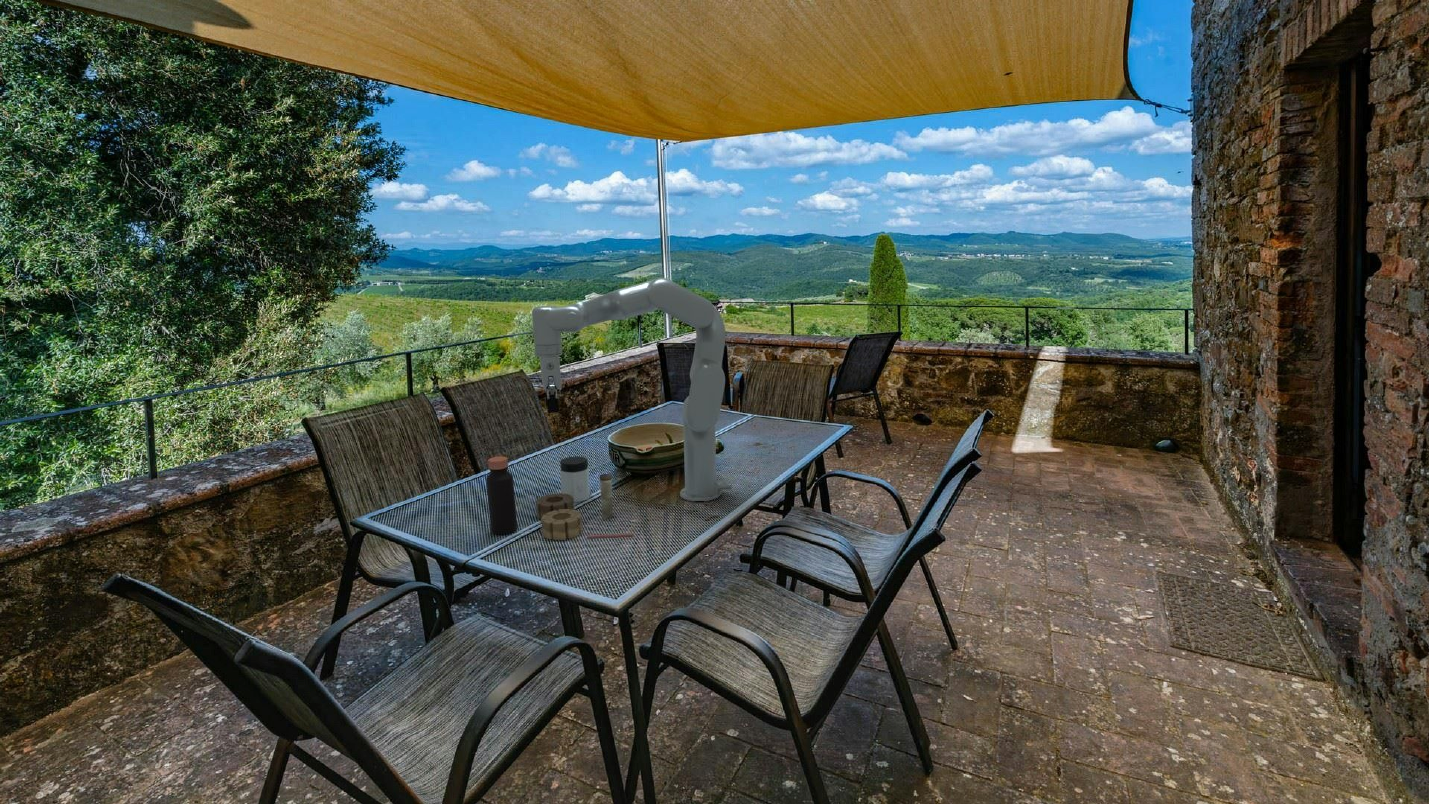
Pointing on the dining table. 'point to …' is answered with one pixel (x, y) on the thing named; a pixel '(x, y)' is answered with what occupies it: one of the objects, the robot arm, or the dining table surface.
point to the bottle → (501, 497)
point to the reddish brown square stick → (610, 535)
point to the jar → (575, 478)
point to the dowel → (606, 495)
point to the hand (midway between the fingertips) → (552, 408)
